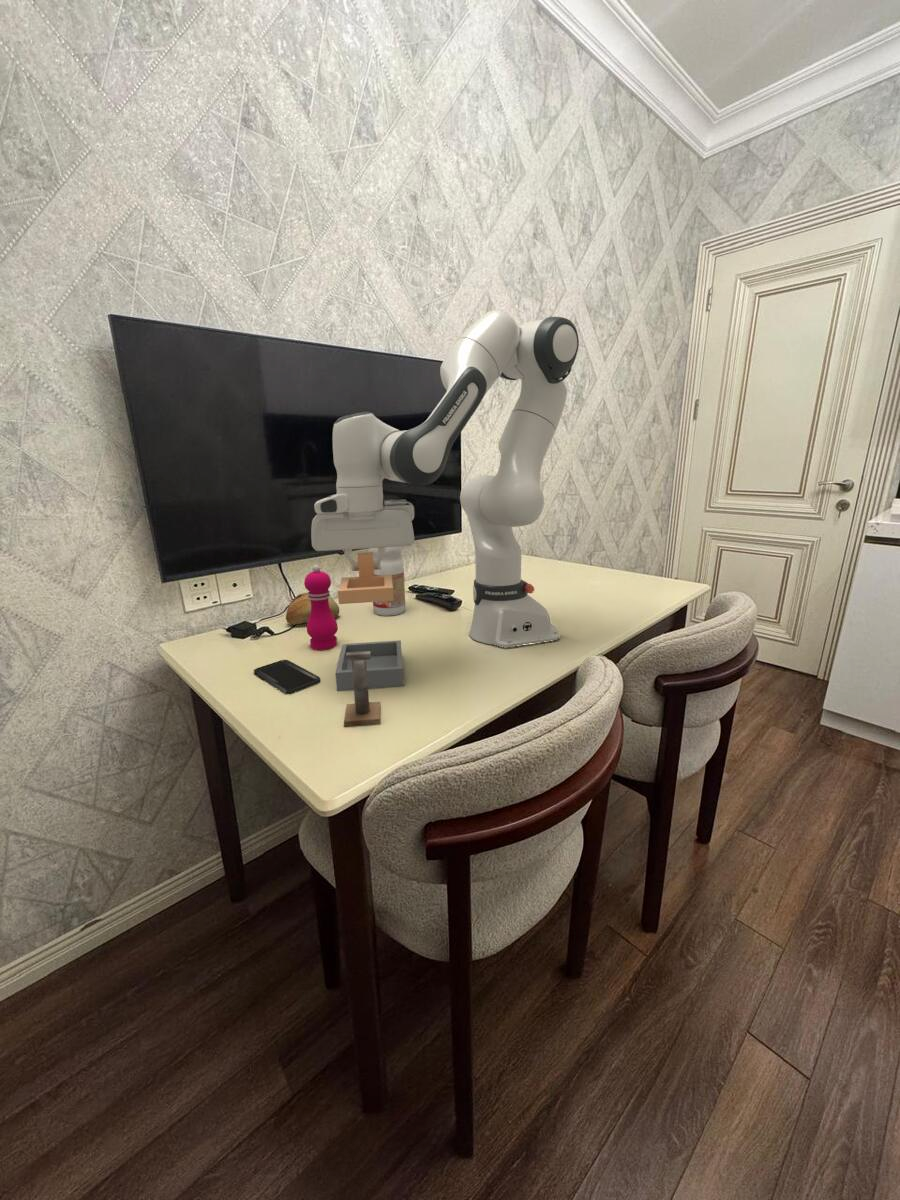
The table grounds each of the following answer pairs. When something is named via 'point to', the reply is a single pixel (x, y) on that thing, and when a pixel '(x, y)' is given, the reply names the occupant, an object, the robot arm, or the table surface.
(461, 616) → the table surface
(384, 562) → the fruit juice
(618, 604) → the table surface
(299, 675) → the phone
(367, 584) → the ring
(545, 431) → the robot arm
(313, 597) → the pepper mill
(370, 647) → the tray
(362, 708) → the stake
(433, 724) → the table surface
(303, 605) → the bread roll
